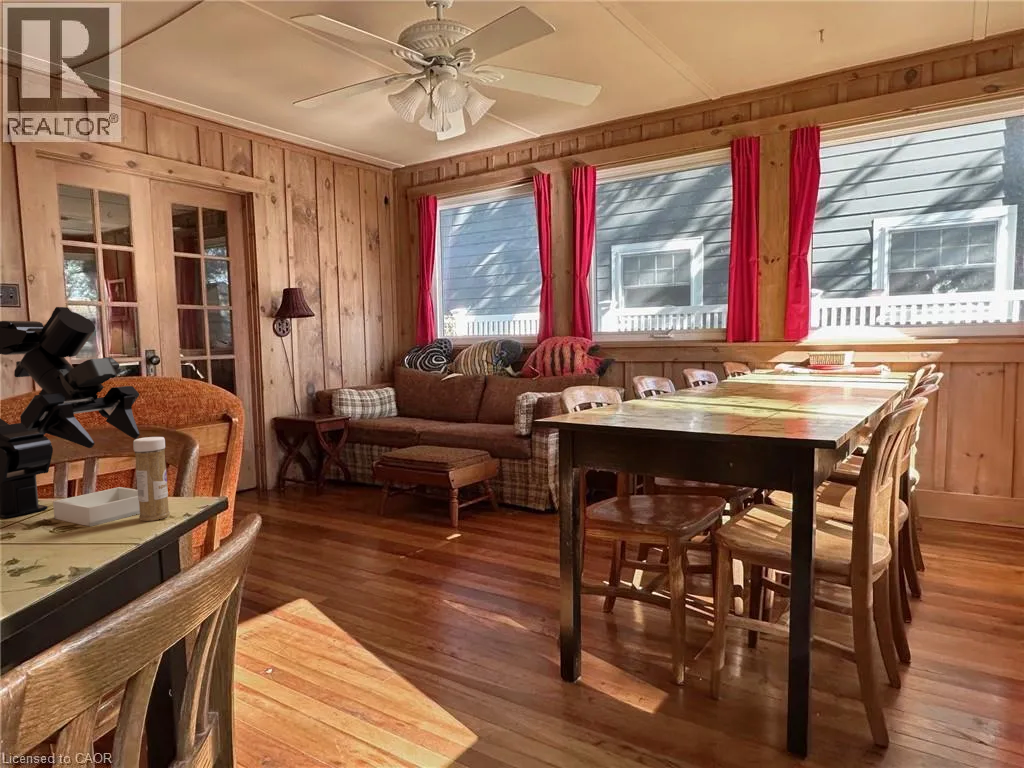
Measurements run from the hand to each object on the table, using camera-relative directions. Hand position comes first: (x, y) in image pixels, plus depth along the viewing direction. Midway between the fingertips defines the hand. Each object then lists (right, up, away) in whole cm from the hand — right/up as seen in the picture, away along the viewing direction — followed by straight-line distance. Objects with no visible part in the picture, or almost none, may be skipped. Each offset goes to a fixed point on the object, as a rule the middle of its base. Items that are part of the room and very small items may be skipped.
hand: (116, 441), depth 107 cm
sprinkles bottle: (+7, -13, 0) cm, 15 cm away
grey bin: (-3, -13, +3) cm, 14 cm away
